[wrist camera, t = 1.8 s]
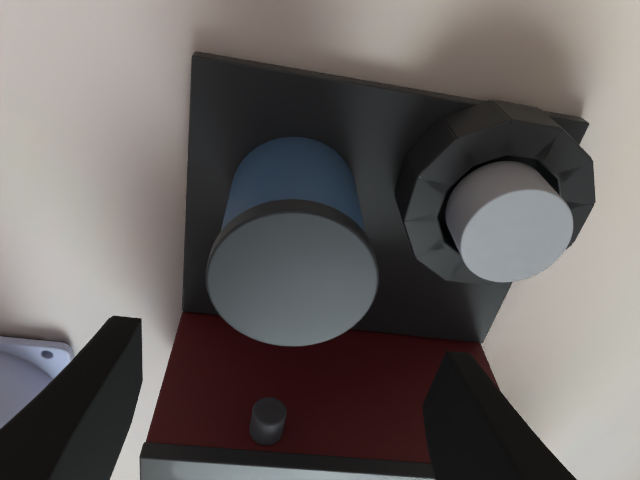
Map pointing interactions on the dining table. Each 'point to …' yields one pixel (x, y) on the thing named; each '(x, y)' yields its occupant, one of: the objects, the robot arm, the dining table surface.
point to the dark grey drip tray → (377, 177)
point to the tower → (294, 406)
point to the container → (292, 247)
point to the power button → (508, 221)
